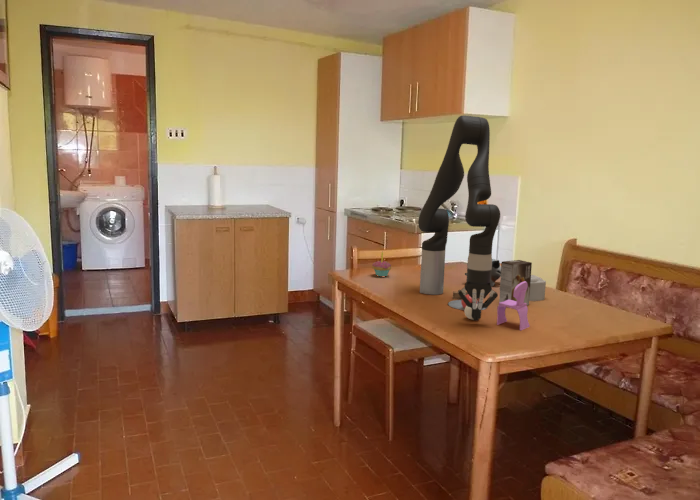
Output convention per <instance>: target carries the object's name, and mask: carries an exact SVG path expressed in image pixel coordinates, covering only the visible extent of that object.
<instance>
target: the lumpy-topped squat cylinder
mask: <svg viewBox="0 0 700 500" xmlns="http://www.w3.org/2000/svg"><path fill="white" fill-rule="evenodd" d="M546 284H547V282H546V280H545V279H543V278H541V277H540V276H538V275H535V274H531V282H530V297H529V302H538V301H539V302H540V301H544V300H545V298H546Z"/></svg>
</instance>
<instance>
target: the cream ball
mask: <svg viewBox="0 0 700 500" xmlns="http://www.w3.org/2000/svg"><path fill="white" fill-rule="evenodd" d="M477 305H478V304H476V308H477ZM463 311H464V315H465V317H466V318H467V319H468V320H469V319H470V320H472V321H475V320H474V319H473V318H472V308H471V307H468V306H466V307H465V310H463Z"/></svg>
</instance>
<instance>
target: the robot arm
mask: <svg viewBox="0 0 700 500" xmlns="http://www.w3.org/2000/svg"><path fill="white" fill-rule="evenodd" d="M490 131H491V130H490V122H489V121H488V119H487V118H484V117H480V116H473V115H464V114H463V115H459V116H458V117H457V118H456V120H455V122H454V124H453V128H452V131H451V134H450V138H449V142H448V145H447V148H446V152H445V154H444V157H443V159H442V162H441V164H440V167H439V169H438V172H437V174H436V176H435V180H434V181H433V182H434V183H433V185H432V188H431V190H430V193H429V195H428V197H427V199H426V201H425V202H424V204H423V207H422V209H421V211H420V213H419V216H418V219H417V220H418V222H417V223H418V228H419V230H420V231H421V232H423V233H434V234H433V235H432V237H430V238H428V239H426V240H424V241H422V243H421V258H420V259H421V261H420V280H419V294H425V295H442V294H443V293H444V287H445V286H444V283H445V281H444V280H445V264H446V246H447V242H448V234H449V227H450V217H449V213H448V211H447V209H445V208H441V206H442V205H444V203H446V202H447V201H449V200H450V199H451V198H452V197H454V195H456V193H457V192H458V191H459V189H460V187H461V185H462V183H463V179H464V178H465V169H464V165H463V162H462V159H461V156H460V150H461V147H462V146H463V144H464V145H471V146H472V145H473V146H476V148H477V153H476V156H475V158H474V160H473V161H472V164H471V165H470V167H469V168H468V171H467V175H466V176H467V177H466V182H467V190H468V191H467V192H468V199H467V206H466V210H465V215H464V217H465V222H466V224H467V225H468V226H469V227H473V228H474V227H475V228H476V227H481V228H482V227H483V228H484V227H485V228H484V229H483V231H482V232H479V233H475V234H472V235H470V237H469V245H468V246H469V247H468V257H467V264H466V267H467V268H466V269H467V270H466V273H467V276H466V280H465V281H466V282H465V284H464V287H463V288H461V289H458V290H457V292H458V294H459V295H460V297H461V298H462V300H463V301H464V302H465V304H466V305H467V306H468V307H471V308H472V318H473V319H474V320H473V321H477V322H478V321H479V320H480V319H481V318H482V311H483V310H482V309H483V308H486V309H488V307H489V306H491V304H492V303H493V302H494V301H495V300H496V299H497V298H498V296H499V294H498V292H497V291H494V290H493V286H492V287H491V270H492V259H493V256H492V253H493V252H492V251H493V243H494V242H493V241H494V237H495V233H496V230H497V228H498V225H499V223H500V219H501V211H500V208H499V207H498V205H496V204H492V203H491V204H486V203H480V202H484V201H486V200H488V199H489V198H490V197H492V187H491V186H492V185H491V180H490V170H489V169H490V168H489V166H490V163H489V162H490V139H491V138H490V137H491V132H490ZM466 292H467V293H468V294H469V296H470V297H471V298H472V303H470V302H469V300H468V299H467V297H466V296H465V295H466ZM488 295H489V296H488ZM487 296H488V298H487V299H486V300H485V301H484V299H485V298H486V297H487ZM476 298H478V300H477V301H478V305H477V308H476Z"/></svg>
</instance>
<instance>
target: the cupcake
mask: <svg viewBox="0 0 700 500" xmlns="http://www.w3.org/2000/svg"><path fill="white" fill-rule="evenodd" d="M380 256H381V257H380V259H381V260H377V261H375V262H373V263H372V266H371V269H373V270H374V272H375V276H376V275H378V276H387V277H388V274H389V272H390V270H391V269H392V264H390V262H388V261H385V260H384V251H383V250H382V251H381V255H380Z"/></svg>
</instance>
